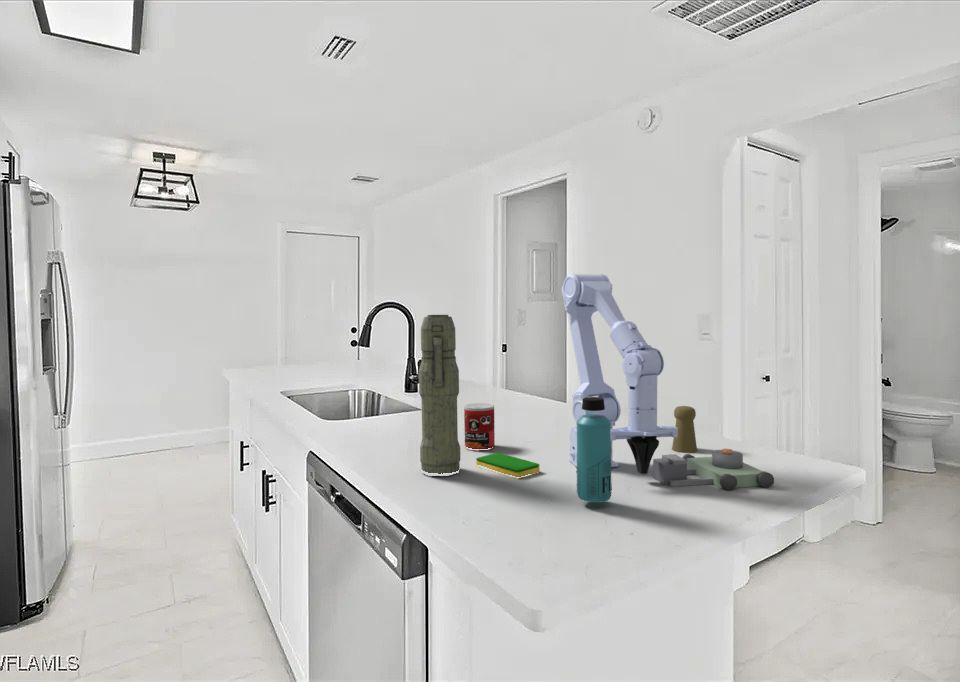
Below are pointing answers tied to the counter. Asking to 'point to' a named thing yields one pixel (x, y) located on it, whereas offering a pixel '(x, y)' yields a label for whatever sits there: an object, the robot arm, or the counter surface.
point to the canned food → (479, 426)
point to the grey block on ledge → (669, 468)
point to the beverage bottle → (593, 453)
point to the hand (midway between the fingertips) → (642, 472)
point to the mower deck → (724, 471)
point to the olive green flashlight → (439, 396)
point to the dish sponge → (508, 464)
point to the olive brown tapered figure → (685, 430)
